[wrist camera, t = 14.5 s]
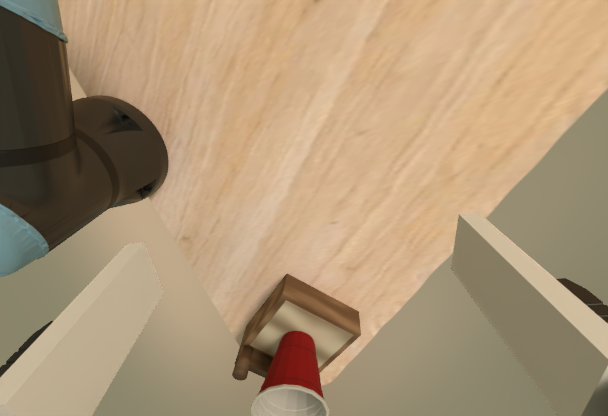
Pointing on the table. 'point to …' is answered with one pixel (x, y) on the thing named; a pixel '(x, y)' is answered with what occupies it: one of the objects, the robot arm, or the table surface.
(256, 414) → the plastic cup
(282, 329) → the walnut stand
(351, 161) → the table surface
